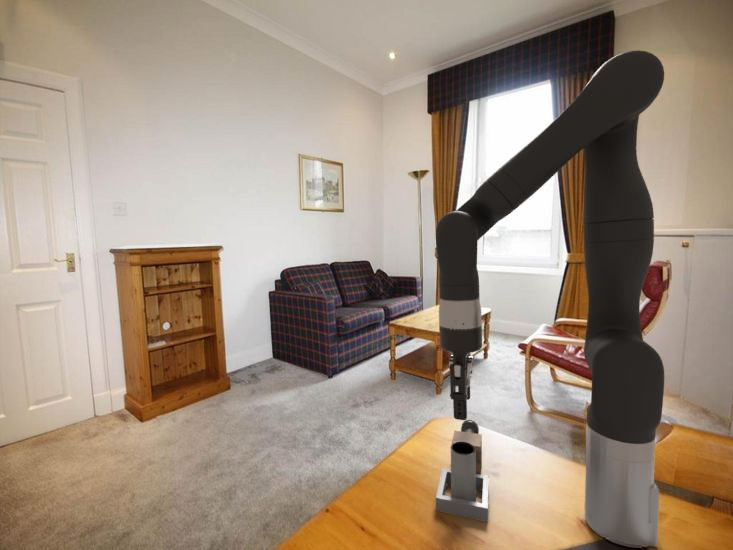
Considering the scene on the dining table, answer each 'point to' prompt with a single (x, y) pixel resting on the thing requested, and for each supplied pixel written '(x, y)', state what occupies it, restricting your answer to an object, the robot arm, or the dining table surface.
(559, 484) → the dining table surface
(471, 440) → the guide block
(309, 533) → the dining table surface
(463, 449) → the grey cylinder
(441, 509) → the grey open frame
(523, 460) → the dining table surface
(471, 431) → the shaft
